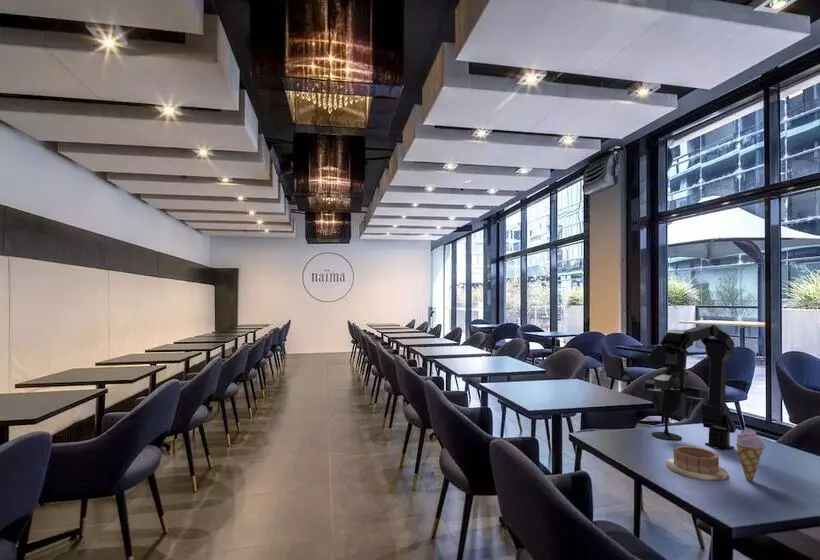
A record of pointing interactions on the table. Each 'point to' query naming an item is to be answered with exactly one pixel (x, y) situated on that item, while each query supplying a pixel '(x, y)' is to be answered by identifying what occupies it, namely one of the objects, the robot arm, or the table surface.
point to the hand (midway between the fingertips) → (672, 415)
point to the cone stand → (696, 464)
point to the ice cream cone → (749, 451)
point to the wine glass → (668, 413)
